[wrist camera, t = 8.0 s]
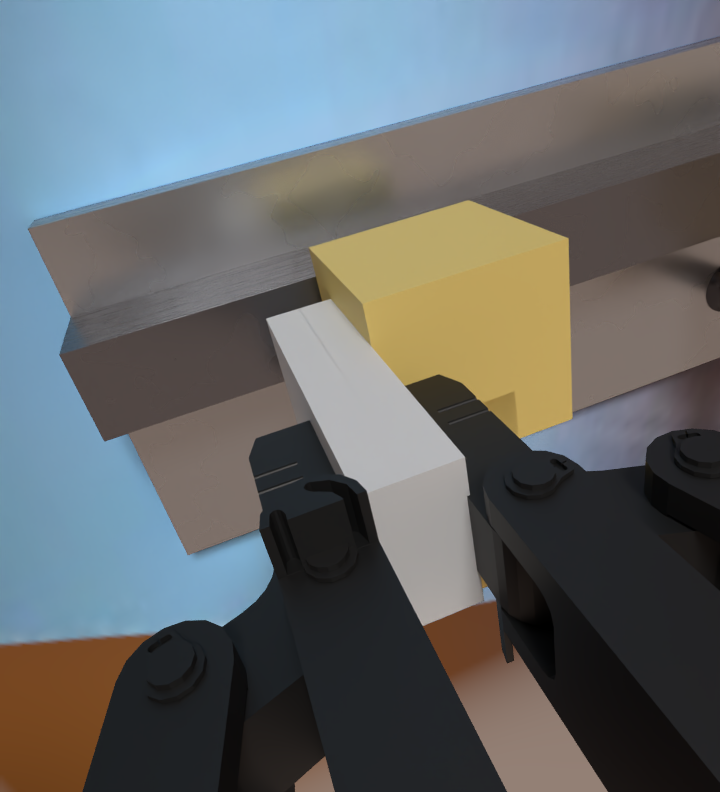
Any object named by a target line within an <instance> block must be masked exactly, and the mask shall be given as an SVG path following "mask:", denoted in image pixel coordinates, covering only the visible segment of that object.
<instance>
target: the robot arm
mask: <svg viewBox="0 0 720 792" xmlns="http://www.w3.org/2000/svg"><path fill="white" fill-rule="evenodd" d="M266 321H267V324H268V327H269V331H270V334H271V337H272V341H273V344H274V347H275V351H276V354H277V357H278V361H279V364H280V367H281V371H282V374H283V377H284V381H285V384H286V387H287V391H288V394H289V397H290V401H291V404H292V407H293V411H294V414H295V417H296V421H297V425H294V426H291V427H288V428H285V429H282V430H279V431H276V432H273V433H270V434H267V435H264V436H261V437H258V438H256V439H255V442H254V444H253V447H252V450H251V453H250V455H249V462H250V465H251V469H252V473H253V476H254V479H255V484H256V487H257V491H258V494H259V499H260V502H261V506H262V510H263V511H262V512H261V514H260V524H259V531H260V533H261V536H262V539H263V541H264V544H265V547H266V549H267V552H268V554H269V557H270V560H271V562H272V565H273V568H274V573H273V577H272V579H271V581H270V583H269V584H268V586H267V588H266V590H265V591H264V592H263V593H262V595H261V596H260V597H259V598H258V600H257V601H256V602H255V603H254V604H252V605H251V606H250V607H249V608H248V609H246V610H245V611H244V612H243V613H241V614H240V615H239V616H237V617H236V618H234V619H233V620H231V621H230V622H229V623H227V624H226V625H224V626H223V627H221V626H218V625H216V624H214V623H211V622H209V621H206V620H196V621H183V622H181V623H178V624H175V625H172V626H169V627H166V628H164V629H162V630H161V631H159V632H158V633H156V634H155V635H153V636H152V637H150V638H149V639H147V640H146V641H144V642H143V643H142V644H141V645H140V646H139V647H138V649H137V650H136V651H135V652H134V653H133V654H132V655H131V657H129V659H128V660H127V661H126V663H125V665H124V667H123V669H122V671H121V673H120V675H119V677H118V679H117V681H116V683H115V686H114V690H113V693H112V696H111V700H110V703H109V706H108V710H107V713H106V716H105V720H104V723H103V726H102V729H101V733H100V736H99V739H98V742H97V746H96V749H95V753H94V756H93V759H92V763H91V765H90V769H89V772H88V775H87V779H86V782H85V786H84V789H83V792H295V784H294V783H295V782H296V781H297V780H298V779H300V778H301V777H302V776H303V775H304V774H305V773H306V772H307V771H309V770H310V769H311V768H312V767H313V766H314V765H315V764H316V763H318V762H319V761H320V760H321V759H322V758H323V757H324V756H325V757H326V760H327V764H328V768H329V771H330V775H331V779H332V783H333V786H334V790H335V792H507V791H506V789H505V787H504V785H503V783H502V782H501V779H500V777H499V775H498V773H497V771H496V770H495V767H494V765H493V764H492V762H491V760H490V758H489V756H488V754H487V752H486V750H485V748H484V746H483V744H482V742H481V740H480V738H479V736H478V734H477V732H476V730H475V728H474V726H473V724H472V722H471V720H470V719H469V716H468V714H467V712H466V711H465V709H464V707H463V705H462V703H461V701H460V699H459V697H458V695H457V693H456V691H455V689H454V687H453V685H452V683H451V681H450V679H449V677H448V675H447V673H446V671H445V669H444V667H443V666H442V664H441V661H440V660H439V658H438V656H437V654H436V652H435V650H434V648H433V646H432V644H431V642H430V640H429V638H428V636H427V634H426V632H425V630H424V628H423V626H424V625H426V624H429V623H431V622H434V621H436V620H438V619H441V618H443V617H446V616H448V615H451V614H453V613H455V612H458V611H460V610H463V609H465V608H468V607H470V606H472V605H475V604H477V603H480V602H482V601H484V597H483V589H482V582H481V577H482V578H483V580H484V581H485V583H486V584H487V586H488V587H489V589H490V590H491V592H492V593H493V595H494V596H495V598H496V602H497V610H498V618H499V627H500V636H501V643H502V650H503V653H504V656H505V659H506V662H507V663H509V662H512V661H514V655H513V646H514V647H515V648H516V650H517V652H518V653H519V655H520V656H521V658H522V659H523V661H524V663H525V664H526V666H527V667H528V669H529V670H530V672H531V673H532V675H533V676H534V678H535V679H536V681H537V683H538V684H539V686H540V687H541V689H542V690H543V692H544V693H545V695H546V697H547V698H548V700H549V701H550V703H551V704H552V706H553V707H554V709H555V711H556V712H557V714H558V715H559V717H560V718H561V720H562V721H563V723H564V724H565V726H566V728H567V729H568V731H569V732H570V734H571V735H572V737H573V738H574V740H575V741H576V743H577V745H578V746H579V748H580V749H581V751H582V752H583V754H584V755H585V757H586V758H587V760H588V762H589V763H590V765H591V766H592V768H593V769H594V771H595V772H596V774H597V775H598V777H599V779H600V780H601V782H602V783H603V785H604V786H605V788H606V789H607V791H608V792H720V432H718V431H714V430H702V429H685V430H678V431H671V432H669V433H667V434H664V435H662V436H659V437H657V438H656V439H655V440H654V441H653V442H652V443H651V444H650V445H649V446H648V447H647V453H646V464H645V466H636V467H628V468H620V469H612V470H604V471H585V470H584V469H583V468H582V467H581V466H579V465H578V464H577V463H575V462H573V461H572V460H570V459H569V458H567V457H565V456H563V455H560V454H556V453H552V452H548V451H532V450H531V449H530V448H529V447H528V446H527V445H526V444H525V443H524V442H523V441H522V440H521V439H520V438H519V437H518V436H517V435H516V434H515V433H513V432H512V431H511V430H510V429H509V428H508V427H507V426H506V425H505V424H504V423H503V422H502V421H501V420H500V419H499V418H498V417H497V416H496V415H495V414H494V413H493V412H492V411H489V410H488V408H487V407H486V406H485V405H484V404H483V403H482V402H481V401H480V400H479V399H478V400H477V398H476V396H475V395H474V394H473V393H472V392H471V391H470V390H469V389H468V388H467V387H466V386H465V385H463V384H462V383H461V382H458V381H456V380H453V379H450V378H448V377H445V376H442V375H440V374H438V375H435V376H432V377H429V378H426V379H423V380H421V381H418V382H415V383H412V384H409V385H406V386H404V384H403V383H402V382H401V381H400V380H399V379H398V377H397V376H396V375H395V374H394V373H393V371H392V370H391V369H390V368H389V367H388V366H387V364H386V363H385V362H384V361H383V360H382V358H381V357H380V356H379V355H378V354H377V353H376V351H375V350H374V349H373V348H372V347H371V346H370V345H369V343H368V342H367V341H366V340H365V339H364V337H363V336H362V335H361V334H360V333H359V332H358V330H357V329H356V328H355V327H354V326H353V324H352V323H351V322H350V321H349V320H348V319H347V317H346V316H345V315H344V314H343V313H342V311H341V310H340V309H339V308H338V307H337V306H336V304H335V303H334V302H333V301H332V300H331V299H329V300H325V301H322V302H319V303H316V304H312V305H309V306H306V307H303V308H299V309H296V310H293V311H289V312H286V313H283V314H280V315H276V316H273V317H270V318H267V319H266ZM512 644H513V646H512Z"/></svg>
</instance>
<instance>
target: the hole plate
mask: <svg viewBox="0 0 720 792" xmlns="http://www.w3.org/2000/svg"><path fill="white" fill-rule="evenodd" d="M467 200H470V201H472V202H475V203H478V204H480V205H483V206H485V207H488V208H491V209H493V210H496V211H498V212H501V213H504V214H506V215H509V216H512V217H514V218H517V219H519V220H522V221H525V222H527V223H530V224H532V225H535V226H538V227H540V228H543V229H545V230H548V231H551V232H553V233H556V234H559V235H561V236H564V237H566V238H568V239H569V284H570V330H571V376H572V412H575V411H577V410H580V409H583V408H585V407H588V406H591V405H593V404H596V403H599V402H601V401H604V400H607V399H609V398H612V397H615V396H618V395H620V394H623V393H626V392H628V391H631V390H634V389H636V388H639V387H642V386H644V385H647V384H650V383H653V382H655V381H658V380H661V379H663V378H666V377H669V376H671V375H674V374H677V373H679V372H682V371H685V370H688V369H690V368H693V367H696V366H698V365H701V364H704V363H706V362H709V361H712V360H714V359H717V358H720V37H716V38H713V39H709V40H705V41H701V42H698V43H694V44H690V45H687V46H683V47H679V48H675V49H672V50H668V51H664V52H660V53H657V54H653V55H649V56H646V57H642V58H638V59H634V60H631V61H627V62H623V63H619V64H616V65H612V66H608V67H604V68H601V69H597V70H593V71H590V72H586V73H582V74H578V75H575V76H571V77H567V78H563V79H560V80H556V81H552V82H549V83H545V84H541V85H537V86H534V87H530V88H526V89H522V90H519V91H515V92H511V93H508V94H504V95H500V96H496V97H493V98H489V99H485V100H481V101H478V102H474V103H470V104H466V105H463V106H459V107H455V108H452V109H448V110H444V111H440V112H437V113H433V114H429V115H425V116H422V117H418V118H414V119H411V120H407V121H403V122H399V123H396V124H392V125H388V126H384V127H381V128H377V129H373V130H369V131H366V132H362V133H358V134H355V135H351V136H347V137H343V138H340V139H336V140H332V141H328V142H325V143H321V144H317V145H314V146H310V147H306V148H302V149H299V150H295V151H291V152H287V153H284V154H280V155H276V156H273V157H269V158H265V159H261V160H258V161H254V162H250V163H246V164H243V165H239V166H235V167H231V168H228V169H224V170H220V171H217V172H213V173H209V174H205V175H202V176H198V177H194V178H190V179H187V180H183V181H179V182H176V183H172V184H168V185H164V186H161V187H157V188H153V189H149V190H146V191H142V192H138V193H134V194H131V195H127V196H123V197H120V198H116V199H112V200H108V201H105V202H101V203H97V204H93V205H90V206H86V207H82V208H79V209H75V210H71V211H67V212H64V213H60V214H56V215H52V216H49V217H45V218H41V219H38V220H34V221H33V223H32V224H31V225H30V227H29V228H28V230H29V232H30V234H31V236H32V238H33V240H34V242H35V245H36V247H37V249H38V251H39V253H40V255H41V257H42V259H43V261H44V263H45V265H46V267H47V269H48V271H49V273H50V275H51V277H52V279H53V281H54V283H55V285H56V287H57V289H58V291H59V293H60V295H61V298H62V300H63V302H64V304H65V306H66V308H67V310H68V312H69V314H70V316H71V318H70V321H69V325H68V328H67V331H66V335H65V338H64V341H63V345H62V348H61V351H60V354H59V355H60V357H61V359H62V361H63V363H64V365H65V366H66V368H67V370H68V372H69V374H70V376H71V378H72V380H73V382H74V384H75V386H76V388H77V390H78V392H79V393H80V395H81V397H82V399H83V401H84V403H85V405H86V407H87V409H88V411H89V413H90V415H91V417H92V418H93V420H94V422H95V424H96V426H97V428H98V430H99V432H100V434H101V436H102V438H103V440H104V441H107V440H110V439H113V438H116V437H119V436H122V435H125V434H129V436H130V438H131V440H132V442H133V444H134V446H135V448H136V450H137V452H138V455H139V457H140V459H141V461H142V463H143V465H144V467H145V469H146V471H147V473H148V475H149V477H150V479H151V481H152V483H153V485H154V487H155V489H156V491H157V493H158V495H159V497H160V499H161V501H162V503H163V505H164V508H165V510H166V512H167V514H168V516H169V518H170V520H171V522H172V524H173V526H174V528H175V530H176V532H177V534H178V536H179V538H180V540H181V542H182V544H183V546H184V548H185V550H186V552H187V554H188V555H190V554H192V553H195V552H198V551H200V550H203V549H206V548H208V547H211V546H214V545H217V544H219V543H222V542H225V541H227V540H230V539H233V538H235V537H238V536H241V535H243V534H246V533H249V532H252V531H254V530H257V529H259V524H260V514H261V512H262V511H263V510H262V506H261V502H260V499H259V494H258V491H257V487H256V484H255V479H254V476H253V473H252V469H251V465H250V462H249V455H250V453H251V450H252V447H253V444H254V442H255V439H256V438H258V437H261V436H264V435H267V434H270V433H273V432H276V431H279V430H282V429H285V428H288V427H291V426H294V425H297V421H296V417H295V414H294V411H293V407H292V404H291V401H290V397H289V394H288V391H287V387H286V384H285V381H284V377H283V374H282V371H281V367H280V364H279V361H278V357H277V354H276V351H275V347H274V344H273V341H272V337H271V334H270V331H269V327H268V324H267V321H266V319H267V318H270V317H273V316H276V315H280V314H283V313H286V312H289V311H293V310H296V309H299V308H303V307H306V306H309V305H312V304H316V303H319V302H322V299H321V295H320V291H319V287H318V283H317V279H316V275H315V271H314V267H313V263H312V259H311V255H310V251H309V247H312V246H316V245H319V244H322V243H326V242H329V241H332V240H336V239H339V238H342V237H346V236H349V235H353V234H356V233H359V232H363V231H366V230H369V229H373V228H376V227H380V226H383V225H386V224H390V223H393V222H396V221H400V220H403V219H407V218H410V217H413V216H417V215H420V214H423V213H427V212H430V211H433V210H437V209H440V208H444V207H447V206H450V205H454V204H457V203H460V202H464V201H467Z"/></svg>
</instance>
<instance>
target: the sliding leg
mask: <svg viewBox="0 0 720 792" xmlns="http://www.w3.org/2000/svg"><path fill="white" fill-rule="evenodd" d="M309 251H310V255H311V259H312V263H313V267H314V271H315V275H316V279H317V283H318V287H319V291H320V295H321V299H322V301H325V300H329V299H331V300H332V301H333V302H334V303H335V304H336V306H337V307H338V308H339V309H340V310H341V311H342V313H343V314H344V315H345V316H346V317H347V319H348V320H349V321H350V322H351V323H352V324H353V326H354V327H355V328H356V329H357V330H358V332H359V333H360V334H361V335H362V336H363V337H364V339H365V340H366V341H367V342H368V343H369V345H370V346H371V347H372V348H373V349H374V350H375V351H376V353H377V354H378V355H379V356H380V357H381V358H382V360H383V361H384V362H385V363H386V364H387V366H388V367H389V368H390V369H391V370H392V371H393V373H394V374H395V375H396V376H397V377H398V379H399V380H400V381H401V382H402V383H403V384H404V386H406V385H409V384H412V383H415V382H418V381H421V380H423V379H426V378H429V377H432V376H435V375H438V374H440V375H442V376H445V377H448V378H450V379H453V380H456V381H458V382H461V383H462V384H463V385H465V386H466V387H467V388H468V389H469V390H470V391H471V392H472V393H473V394H474V395H475V396H476V398H477V400H478V399H479V400H480V401H481V402H482V403H483V404H484V405H485V406H486V407H487V408H488V410H489V411H492V412H493V413H494V414H495V415H496V416H497V417H498V418H499V419H500V420H501V421H502V422H503V423H504V424H505V425H506V426H507V427H508V428H509V429H510V430H511V431H512V432H513V433H515V434H516V435H517V436H518V437H519V438H522V437H525V436H527V435H530V434H533V433H536V432H538V431H541V430H544V429H546V428H549V427H552V426H554V425H557V424H560V423H562V422H565V421H568V420H570V419H572V376H571V330H570V284H569V239H568V238H566V237H564V236H561V235H559V234H556V233H553V232H551V231H548V230H545V229H543V228H540V227H538V226H535V225H532V224H530V223H527V222H525V221H522V220H519V219H517V218H514V217H512V216H509V215H506V214H504V213H501V212H498V211H496V210H493V209H491V208H488V207H485V206H483V205H480V204H478V203H475V202H472V201H470V200H467V201H464V202H460V203H457V204H454V205H450V206H447V207H444V208H440V209H437V210H433V211H430V212H427V213H423V214H420V215H417V216H413V217H410V218H407V219H403V220H400V221H396V222H393V223H390V224H386V225H383V226H380V227H376V228H373V229H369V230H366V231H363V232H359V233H356V234H353V235H349V236H346V237H342V238H339V239H336V240H332V241H329V242H326V243H322V244H319V245H316V246H312V247H309ZM481 582H482V588H485V587H487V584H486V583H485V581H484V580H483V578H482V577H481Z"/></svg>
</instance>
